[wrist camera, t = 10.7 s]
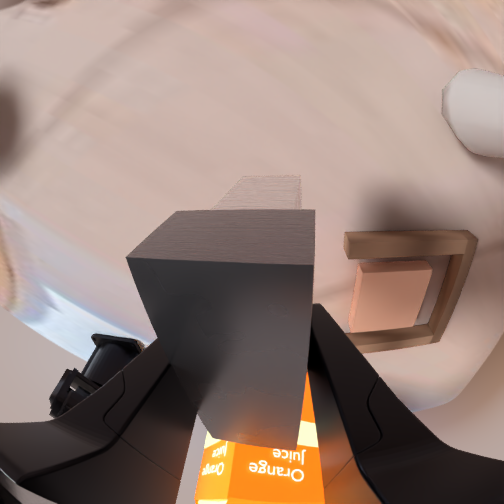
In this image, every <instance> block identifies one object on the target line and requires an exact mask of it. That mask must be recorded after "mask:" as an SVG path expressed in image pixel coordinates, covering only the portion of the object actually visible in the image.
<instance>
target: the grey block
mask: <svg viewBox="0 0 504 504" xmlns="http://www.w3.org/2000/svg"><path fill="white" fill-rule="evenodd" d="M314 257H315V210H302V209H301V176H300V175H280V176H245V177H242V178H241V179H240V180H239V181H238V182H237V183H236V184H235V185H234V186H233V187H232V188H231V189H230V190H229V191H228V192H227V194H226V195H225V196H224V197H223V198H222V199H221V200H220V201H219V202H218V203H217V204H216V205H215V206H214V207H213V208H212V209H211V210H195V211H176V212H175V213H174V214H173V215H172V216H170V217H169V218H168V219H167V220H166V221H165V222H164V223H162V224H161V225H160V226H159V227H158V228H157V229H156V230H155V231H153V232H152V233H151V234H150V235H149V236H148V237H147V238H146V239H145V240H144V241H143V242H141V243H140V244H139V245H138V246H137V247H136V248H135V249H134V250H133V251H132V252H131V253H130V254H129V255H128V256H127V257H126V259H127V262H128V265H129V268H130V270H131V273H132V276H133V279H134V281H135V284H136V287H137V289H138V292H139V295H140V297H141V300H142V302H143V305H144V307H145V309H146V312H147V314H148V317H149V319H150V321H151V324H152V326H153V328H154V330H155V333H156V335H157V337H158V339H159V341H160V344H161V346H162V348H163V350H164V352H165V354H166V356H167V358H168V360H169V362H170V364H171V365H172V367H173V369H174V371H175V373H176V375H177V377H178V379H179V381H180V383H181V385H182V387H183V389H184V390H185V392H186V394H187V396H188V398H189V399H190V401H191V403H192V405H193V406H194V408H195V410H196V412H197V414H198V415H199V417H200V419H201V421H202V422H203V424H204V425H205V427H206V429H207V430H208V432H209V433H210V435H211V437H212V438H214V439H219V440H224V441H228V442H234V443H239V444H245V445H251V446H257V447H265V448H273V449H282V450H292V451H296V449H297V443H298V436H299V430H300V423H301V416H302V409H303V402H304V393H305V385H306V376H307V366H308V356H309V344H310V332H311V318H312V303H313V283H314Z"/></svg>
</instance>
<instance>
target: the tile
mask: <svg viewBox="0 0 504 504" xmlns="http://www.w3.org/2000/svg"><path fill="white" fill-rule="evenodd" d="M432 271H433V269H432V268H431V266H430V265H429V264H428V262H427V261H426V260H419V261H395V262H369V263H358V268H357V275H356V281H355V287H354V293H353V299H352V305H351V310H350V315H349V320H348V323H349V327H350V331H351V333H354V332H367V331H378V330H388V329H397V328H405V327H413V326H414V323H415V321H416V318H417V316H418V313H419V310H420V307H421V305H422V302H423V299H424V296H425V293H426V290H427V287H428V284H429V281H430V278H431V274H432Z"/></svg>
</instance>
